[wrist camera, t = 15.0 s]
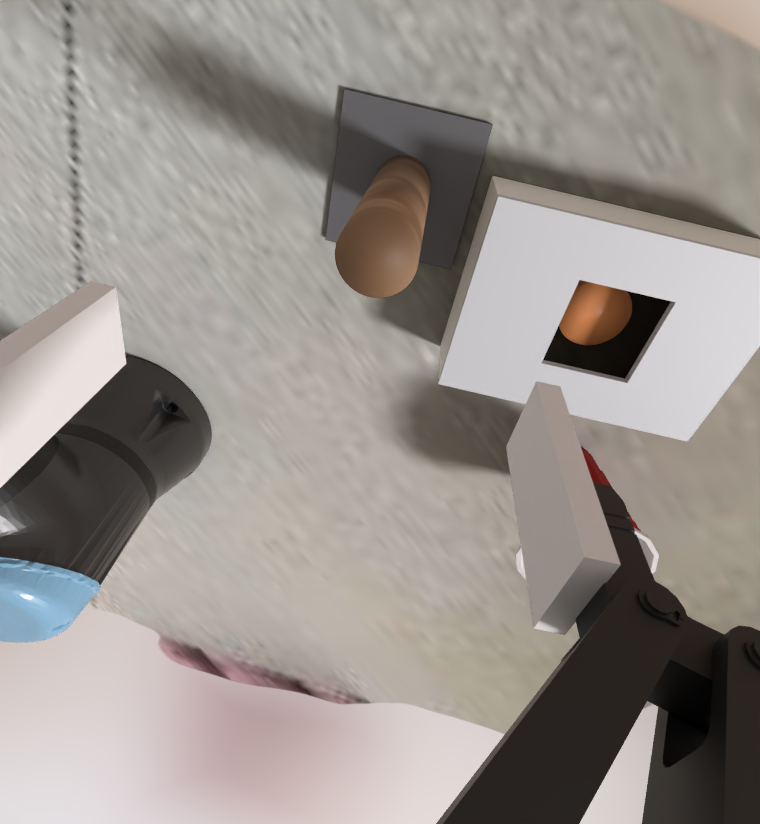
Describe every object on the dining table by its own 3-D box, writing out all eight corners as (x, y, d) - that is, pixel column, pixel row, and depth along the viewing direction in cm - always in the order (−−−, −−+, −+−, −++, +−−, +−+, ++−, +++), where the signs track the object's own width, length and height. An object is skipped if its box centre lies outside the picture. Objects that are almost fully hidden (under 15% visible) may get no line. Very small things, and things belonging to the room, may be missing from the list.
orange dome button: (542, 322, 41) (546, 336, 39) (568, 261, 37) (575, 273, 35) (604, 336, 41) (611, 351, 39) (635, 276, 38) (645, 289, 36)
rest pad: (326, 238, 39) (325, 239, 39) (345, 88, 33) (344, 89, 33) (450, 267, 39) (450, 269, 39) (492, 124, 33) (492, 124, 33)
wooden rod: (370, 208, 37) (330, 287, 25) (381, 149, 34) (341, 205, 22) (423, 220, 37) (408, 305, 25) (437, 162, 34) (427, 225, 22)
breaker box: (440, 346, 43) (438, 384, 38) (492, 175, 35) (498, 196, 30) (661, 397, 44) (687, 441, 39) (766, 240, 35) (815, 271, 30)
